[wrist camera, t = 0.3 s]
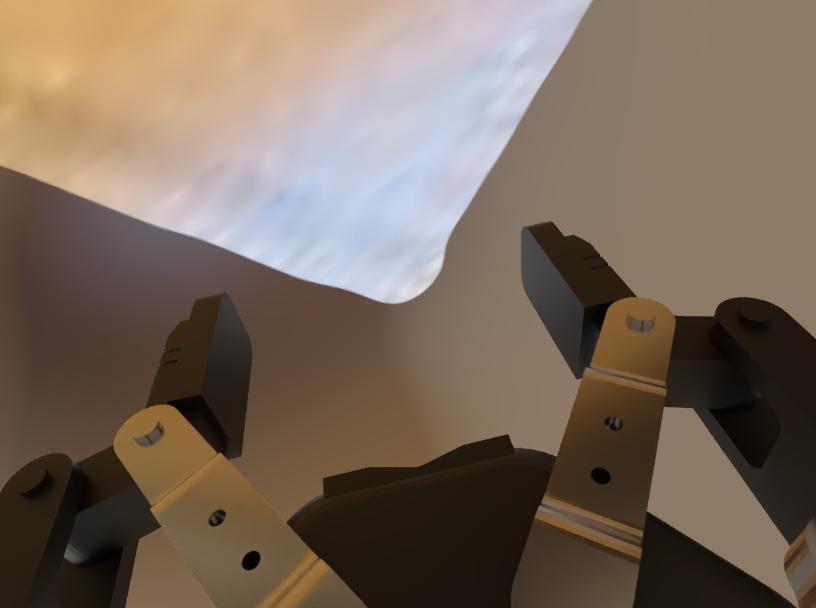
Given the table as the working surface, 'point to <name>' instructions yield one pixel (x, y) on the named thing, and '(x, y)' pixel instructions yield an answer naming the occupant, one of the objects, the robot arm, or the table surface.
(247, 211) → the table surface
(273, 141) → the table surface
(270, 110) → the table surface
